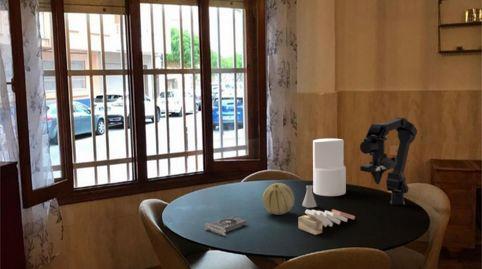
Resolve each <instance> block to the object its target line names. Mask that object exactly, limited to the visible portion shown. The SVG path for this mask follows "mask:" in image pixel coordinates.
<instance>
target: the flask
mask: <svg viewBox="0 0 482 269" xmlns="http://www.w3.org/2000/svg"><path fill="white" fill-rule="evenodd" d="M305 188H306V191H305V192H306V193H305V196H304V199H303V201H302V204H301V206H302V207H304V208H307V209H309V208H311V209H312V208H315V207H316V208H317V207H318V205H317V203H316V200H315V196H314V194H313V193H314V192H313V185H306V186H305Z"/></svg>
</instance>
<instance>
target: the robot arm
mask: <svg viewBox="0 0 482 269" xmlns="http://www.w3.org/2000/svg"><path fill="white" fill-rule="evenodd" d="M393 130H396V132H397V138H398V141H399V143H398V148H397V152H396V156H392V157H388V154H387V153H386V150H385V145H386V141H388V138H387V137H386V136H387V135H389V133H390V132H392V131H393ZM417 134H418V130H417V128H416V126H415V125H414V124H413V123H411V122H410V121H408V119H407V118H405V117H395V118H393V119H391V120H388V121H385V122H383V123H382V122H380V123H377V122H376V123H374V122H373V123H371V125H370V127H369V128H368V131H367V133H366V135H365V138H364V139H363V141H362V142H361V143H360V145H359V149H360V152H361V153H363V155H364V154H365V155H368V154H369V156H371V161H369V163H364V164H363V163H362V164H360V166H359V171H360V172H361V171H362V172H365V173H370V175H371V176H372V178H373V180H374V182H375V184H376V185H380V182H381V181H382V177H383V174H385V172H386V171H388V170H391V172H388V173H387V177H386V179H385V180H386V181H385V184H386V188H387V190H386V191H390V192H391V200H389V201H390V202H389V203H390V205H391V206H392V205H393V206H406V203H405V200H404V198H405V196H404V194H407V193H408V192H409V189H410V187H409V186H408V184H407V183H406V181H407V180H406V175H405V173H404V172H405V168H406V163H407V158H408V153H409V151H410V145H411V144H412V143H413V142H414V140H415V139H416V136H417ZM392 169H393V170H392Z"/></svg>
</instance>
